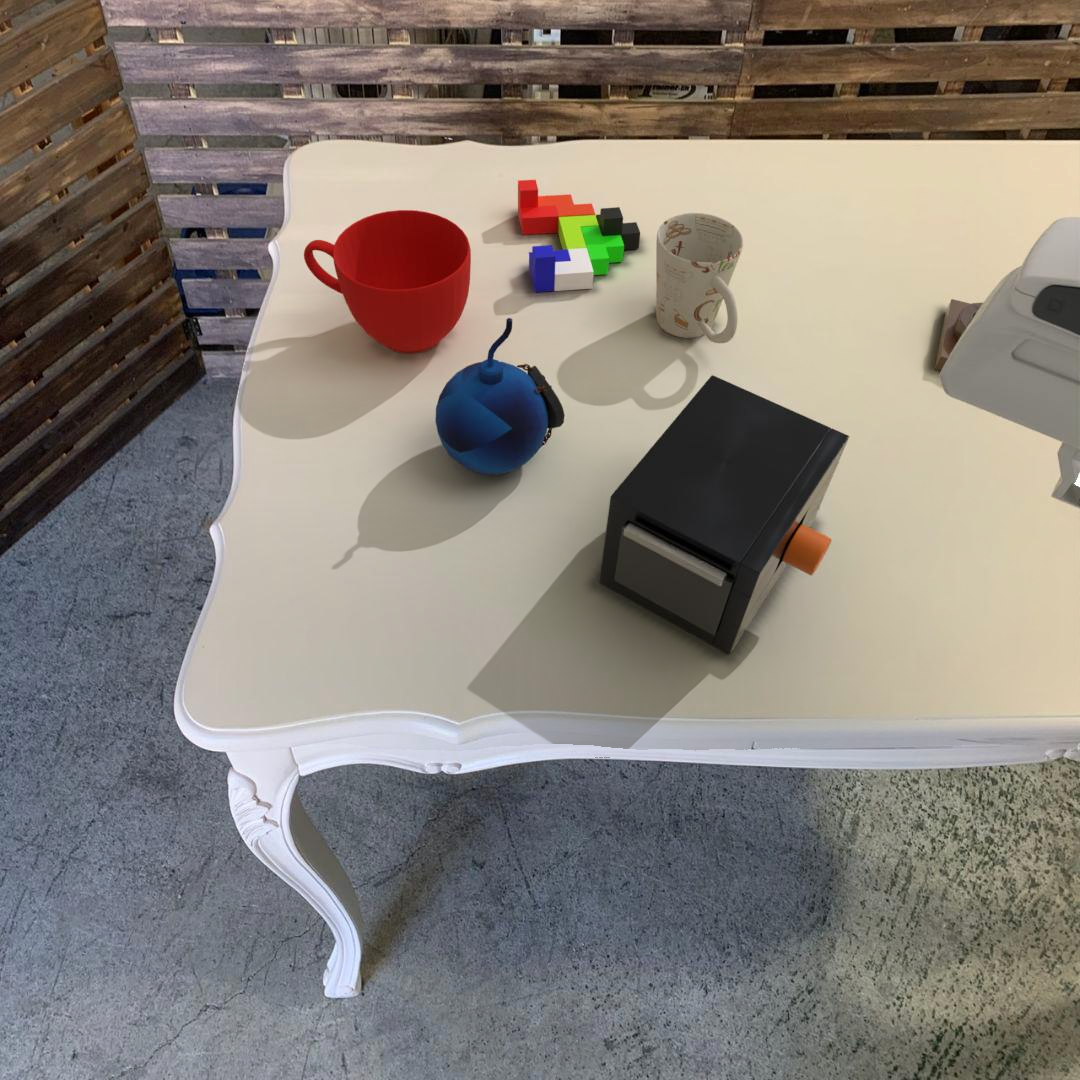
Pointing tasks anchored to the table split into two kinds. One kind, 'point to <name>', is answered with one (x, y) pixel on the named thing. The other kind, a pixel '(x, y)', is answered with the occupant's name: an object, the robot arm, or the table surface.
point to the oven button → (806, 549)
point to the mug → (696, 275)
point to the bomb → (496, 414)
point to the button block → (954, 328)
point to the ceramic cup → (400, 276)
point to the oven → (717, 510)
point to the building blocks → (572, 239)
